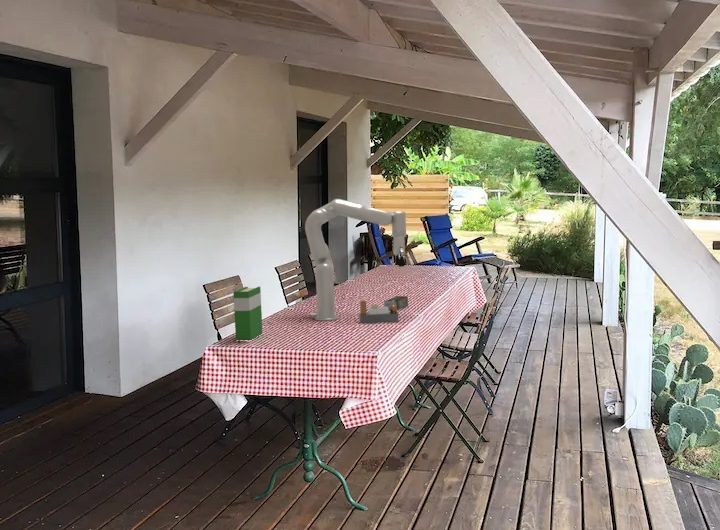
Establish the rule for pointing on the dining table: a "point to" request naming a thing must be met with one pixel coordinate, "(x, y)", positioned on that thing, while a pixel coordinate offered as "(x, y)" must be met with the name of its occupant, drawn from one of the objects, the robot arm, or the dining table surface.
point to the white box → (378, 310)
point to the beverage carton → (397, 302)
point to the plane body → (377, 315)
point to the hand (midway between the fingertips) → (399, 265)
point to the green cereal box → (247, 313)
